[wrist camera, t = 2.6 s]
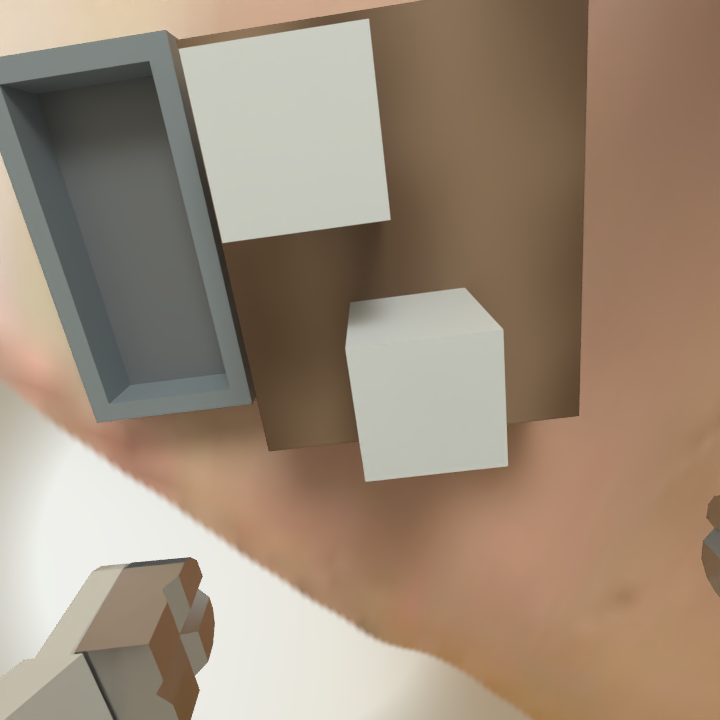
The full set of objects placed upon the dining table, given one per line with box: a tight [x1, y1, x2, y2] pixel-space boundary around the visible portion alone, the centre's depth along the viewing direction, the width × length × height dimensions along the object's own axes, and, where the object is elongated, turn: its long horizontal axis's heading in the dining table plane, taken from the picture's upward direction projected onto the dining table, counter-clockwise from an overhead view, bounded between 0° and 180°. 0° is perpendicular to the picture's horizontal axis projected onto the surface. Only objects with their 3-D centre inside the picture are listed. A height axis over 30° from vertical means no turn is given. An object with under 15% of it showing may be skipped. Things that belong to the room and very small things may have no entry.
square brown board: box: [176, 0, 588, 451], centre depth 19 cm, size 12×14×5 cm
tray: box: [0, 30, 256, 423], centre depth 20 cm, size 7×14×2 cm, turn 8°
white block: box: [179, 19, 391, 243], centre depth 13 cm, size 4×4×5 cm
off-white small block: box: [345, 288, 508, 482], centre depth 15 cm, size 4×4×5 cm
